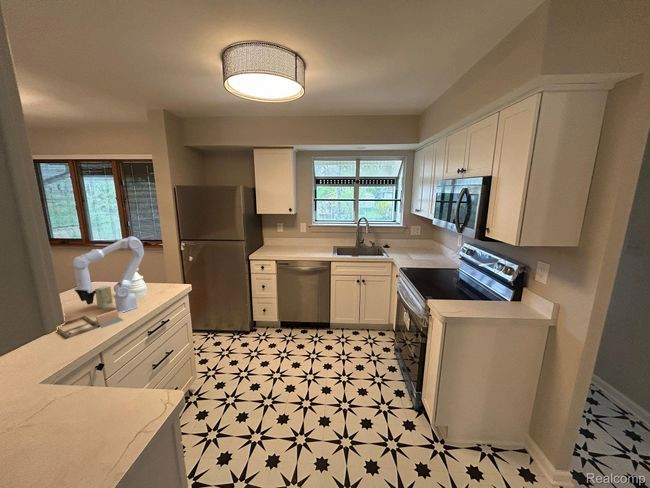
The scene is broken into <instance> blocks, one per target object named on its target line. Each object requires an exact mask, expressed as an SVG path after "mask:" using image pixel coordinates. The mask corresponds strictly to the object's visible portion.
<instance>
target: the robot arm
mask: <svg viewBox="0 0 650 488" xmlns="http://www.w3.org/2000/svg"><path fill="white" fill-rule="evenodd" d="M128 247H129V248H130V250H131V252H132V253H133V254H132V256H131V259H130V260H129V262H128V265H127V267H126V269H125V270H124V272H123V275H122V277H121V278H120V279H119V281H118V282H117V283H116V284H115V285H114V287H113V291H114V292H115V295H114V301H115V309H113V311H114V310H117V311H118V314H121V313H126V312H128V311H131V310H134V309H138V308H139V307H138V305H137V298H136V296H135V294H134V293H129V292H130V290H129V288H130V286H131V281H132V279H133V276H134V274H135V272H137V271H136V270H137V268H139V266H140V264H141V262H142V260H143V257H144V256H145V251H144V243H142V241H141V240H140V239H139V238H137V237H135V236H132V235H131V236H128V237H125V238H122V239H120V240H118V241H116V242H113V243H112V244H109V245H108V246H106V247H104V248H102V249H101V248H100V249H98V248H96V249H94V248H93V249H91V250H90V251H88V252H87V253H84V254H83V253H82V254H80V256H75V257H74V258H73V259H72V262H71V263H72V266H73V270H74V271H73V272H74V277H75V283H76V287H75V288H74V292H75V293H77V296H78V298H79V299H80V300H81V302H86V304H87V305H88V306H89V305H92V304H94V297H95V296H96V291H95V289H94V288H93V285H92V281H91V275H90V270H89V265H91V264H94V263H95V262H98V261H100V260H102V259H104V257H105V255H107V254H111V253H113V252H115V251H117V250H119V249H128ZM93 289H94V290H93Z"/></svg>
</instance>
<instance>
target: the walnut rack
mask: <svg viewBox="0 0 650 488" xmlns="http://www.w3.org/2000/svg"><path fill="white" fill-rule="evenodd" d="M83 320H85V322H87V323H84V324H82V325H81V324H80V325H79V326H76V327H73V328H69V329H67V330H66V329H65V330H64V331H63V330H62V329H61V328H60V327H58V330H57V331H56V332H57V333H59V332H60V333H59V334H60V335H61V336H62V337H63V338H65V339H66V340H68V339H70V338H73V337H77V336H79V335H82V334H85V333H89V332H91V331H93V330H96V329H99V328H101V327H100V325H99V324H97V323H96V322H94V321H95V320H92V319H91V318H90V317H88V316H86V315H82V316H81V317H78V318H74V319H70V320H68V321H65V322H66V323H65V324H64V325H63V326H67V325H69V324H72V323H75V322H78V321H83ZM88 324H90V325H92V326H93V327H91V328H88V329H85V330H82V331H79V332H76V333H73V334H69V331H71V330H74V329H77V328H80V327H83V326H85V325H88Z"/></svg>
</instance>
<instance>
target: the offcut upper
mask: <svg viewBox="0 0 650 488" xmlns="http://www.w3.org/2000/svg"><path fill="white" fill-rule="evenodd" d="M91 327H94V325H90V324H88V325H85V326H83V327H80V328H77V329H74V330H71V331H69V333H68V335H71V334H73V333H76V332H79V331H82V330H85V329H88V328H91Z"/></svg>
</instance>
